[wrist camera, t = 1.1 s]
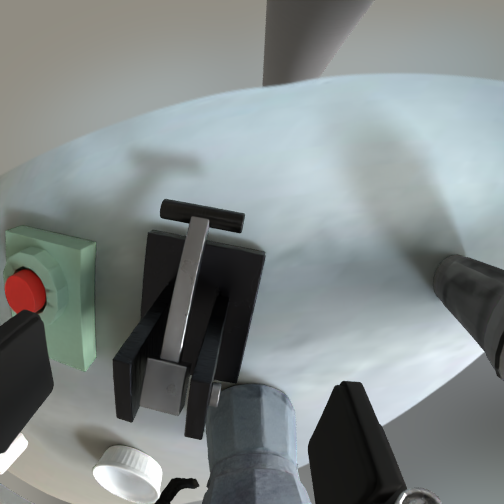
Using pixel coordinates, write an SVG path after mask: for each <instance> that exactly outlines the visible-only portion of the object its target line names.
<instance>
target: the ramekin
mask: <svg viewBox="0 0 504 504" xmlns="http://www.w3.org/2000/svg"><path fill="white" fill-rule="evenodd" d="M92 474H93V476H94V478H95V479H96V481H97V482H98V483H99V484H100V485H101V486H102V487H103V488H105V489H106V490H107V491H109V492H111V493H112V494H114V495H116V496H118V497H120V498H123V499H125V500H128V501H132V502H136V503H153V502H156V501H157V500H158V499H159V497H160V485H161V479H162V470H161V467H160V466H159V464H158V463H157V462H156V461H155V460H154V459H153V458H151V457H150V456H149V455H147V454H145V453H144V452H142V451H139V450H137V449H135V448H131V447H128V446H121V445H116V446H112V447H109V448H108V449H107V450H106V451H105V453H104V454H103V456H102V457H101V459H100V460H99V462H98V463H97V464H96V465H95V466H94V467H93V469H92Z"/></svg>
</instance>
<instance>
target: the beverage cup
mask: <svg viewBox="0 0 504 504" xmlns="http://www.w3.org/2000/svg"><path fill="white" fill-rule="evenodd" d="M433 287H434V292H435V293H436V295H437V297H438V298H440V300H441V301H442V302H443V304H444V306H445V307H446V308H447V309H448V310H449V311H450V312H451V313H452V314H453V315H454V317H455V318H456V319H457V320H458V321H459V322H460V323H461V324H462V326H463V327H464V328H465V329H466V330H467V331H468V332H469V334H470V335H471V336H472V337H473V338H474V339H475V341H476V342H477V343H478V344H479V345H480V347H481V348H482V349H483V350H484V351H485V353H486V355H487V358H488V359H489V361H490V363H491V365H492V366H493V368H494V369H495V371H496V374H497V376H498V377H499V378H501V379H502V380H503V381H504V270H502V269H499V268H497V267H494V266H491V265H488V264H486V263H483V262H480V261H477V260H474V259H471V258H468V257H463V256H460V255H451V256H449V257H447V258H446V259H445V260H444V261H443V262H442V263H441V264H440V265H439V267H438V268H437V270H436V273H435V276H434V281H433Z"/></svg>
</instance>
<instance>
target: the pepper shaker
mask: <svg viewBox="0 0 504 504" xmlns="http://www.w3.org/2000/svg"><path fill="white" fill-rule="evenodd" d="M27 445H28V441H27V440H26V438H25V437H24V435H23V434H22V433H21V432H20V433H19V434H18V436H17V437H16V439H15V440H14V441H13V443H12V444H11V445H10V447H9V448H8V449H7V451H6V452H5V453H1V454H0V474H3V473H4V472H5V471H6V470H7V469H8V467H9V466H10V465H11V464H12V463H13V462H14V461H15V460H16V459H17V458H18V456H19V455H20V454H21V453H22V452H23V451H24V450H25V449H26V448H27Z"/></svg>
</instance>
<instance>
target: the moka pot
mask: <svg viewBox="0 0 504 504" xmlns="http://www.w3.org/2000/svg"><path fill="white" fill-rule="evenodd" d="M205 425H206V435H207V446H208V460H209V467H210V472H211V473H210V478H209V480H208V483H207V488H208V490H207V492H206V493H205V495H204V498H203V502H202V504H311V502H310V499H309V496H308V494H307V491H306V489H305V488H304V486H303V485H302V483H301V482H300V480H299V474H298V471H297V469H298V464H297V443H296V415H295V410H294V407H293V405H292V403H291V401H290V400H289V398H288V397H287V395H285V394H284V393H283V392H281V391H279V390H277V389H275V388H273V387H270V386H266V385H260V384H247V385H236V386H233V387H230V388H228V389H225V390H223V391H221V392H220V395H219V401H218V406H217V407H213V406H208V411H207V416H206V422H205ZM197 487H199V484H198V482H197V480H196V479H193V478H189V479H185V478H182V479H181V478H174V479H171V481H170V482H169V484H168V485H167V487H166V488H165V489H164V490H163V492H162V493H161V495H160V497H159V499H158V500H157V501H156V502H155V504H170V501H172V500H173V498H174V496H176V494H177V493H178V492H179V491H180V490H181V489H184V488H191V489H195V488H197Z"/></svg>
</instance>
